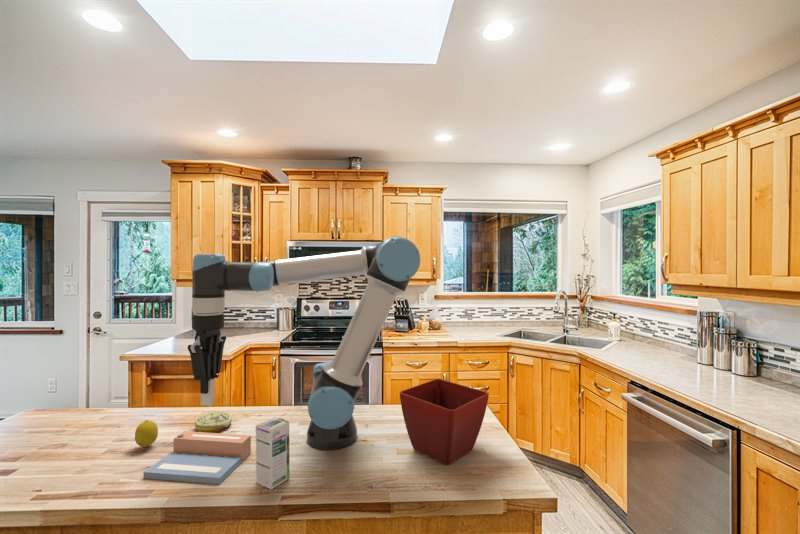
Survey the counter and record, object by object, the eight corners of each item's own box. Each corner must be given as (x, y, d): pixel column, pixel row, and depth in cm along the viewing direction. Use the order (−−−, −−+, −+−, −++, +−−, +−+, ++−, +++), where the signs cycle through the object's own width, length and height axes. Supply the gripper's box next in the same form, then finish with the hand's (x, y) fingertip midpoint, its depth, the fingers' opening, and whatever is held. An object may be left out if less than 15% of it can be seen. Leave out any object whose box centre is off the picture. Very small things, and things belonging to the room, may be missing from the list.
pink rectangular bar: (250, 453, 106) (250, 434, 106) (242, 461, 102) (242, 441, 102) (184, 448, 108) (184, 430, 108) (173, 456, 104) (173, 437, 104)
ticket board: (241, 462, 101) (241, 456, 101) (219, 484, 91) (219, 477, 91) (172, 457, 103) (172, 451, 103) (143, 478, 93) (143, 471, 93)
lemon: (146, 453, 105) (146, 425, 105) (129, 451, 106) (129, 423, 106) (162, 444, 111) (162, 417, 111) (146, 442, 112) (146, 415, 112)
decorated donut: (234, 430, 121) (234, 418, 121) (196, 438, 115) (197, 426, 115) (228, 418, 130) (228, 407, 129) (193, 426, 123) (193, 414, 123)
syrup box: (271, 490, 89) (271, 429, 89) (254, 482, 92) (255, 423, 92) (289, 479, 94) (290, 420, 94) (274, 471, 97) (274, 415, 97)
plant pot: (489, 449, 110) (490, 392, 110) (451, 476, 96) (452, 410, 96) (437, 429, 123) (438, 377, 123) (396, 450, 109) (397, 392, 109)
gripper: (210, 309, 104) (209, 394, 105) (177, 316, 91) (176, 413, 92) (235, 310, 104) (234, 396, 104) (206, 317, 91) (205, 415, 91)
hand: (207, 404), depth 98 cm, fingers closed
